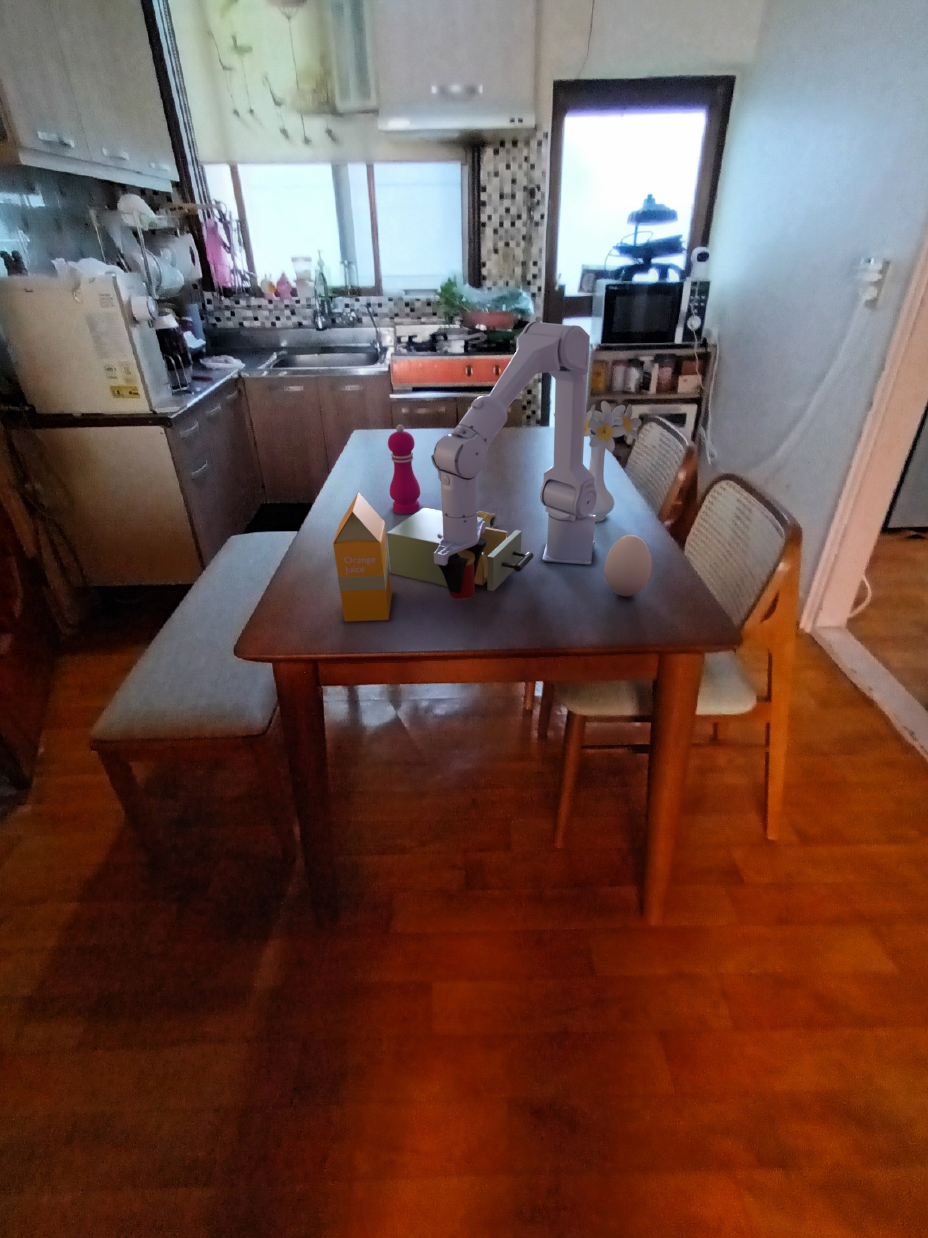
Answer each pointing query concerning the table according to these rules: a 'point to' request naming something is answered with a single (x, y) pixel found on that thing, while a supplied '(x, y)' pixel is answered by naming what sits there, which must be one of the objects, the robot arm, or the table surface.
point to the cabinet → (417, 546)
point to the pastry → (488, 519)
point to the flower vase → (606, 447)
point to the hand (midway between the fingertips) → (461, 584)
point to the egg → (628, 565)
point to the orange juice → (363, 563)
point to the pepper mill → (403, 473)
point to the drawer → (500, 557)
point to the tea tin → (466, 577)
